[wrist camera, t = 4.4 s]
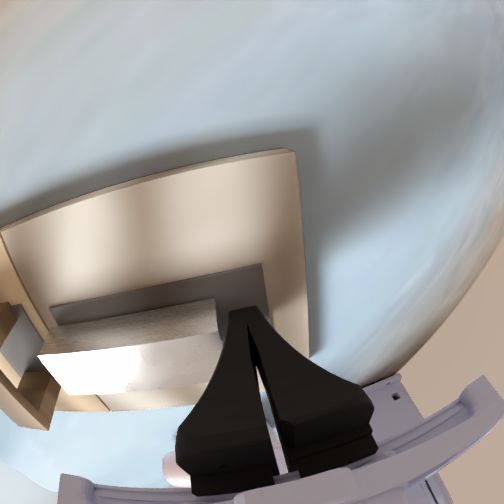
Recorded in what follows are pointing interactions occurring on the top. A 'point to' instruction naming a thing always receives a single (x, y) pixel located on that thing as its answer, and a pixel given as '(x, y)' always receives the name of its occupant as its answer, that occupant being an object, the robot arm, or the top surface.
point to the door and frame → (150, 269)
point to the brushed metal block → (136, 350)
